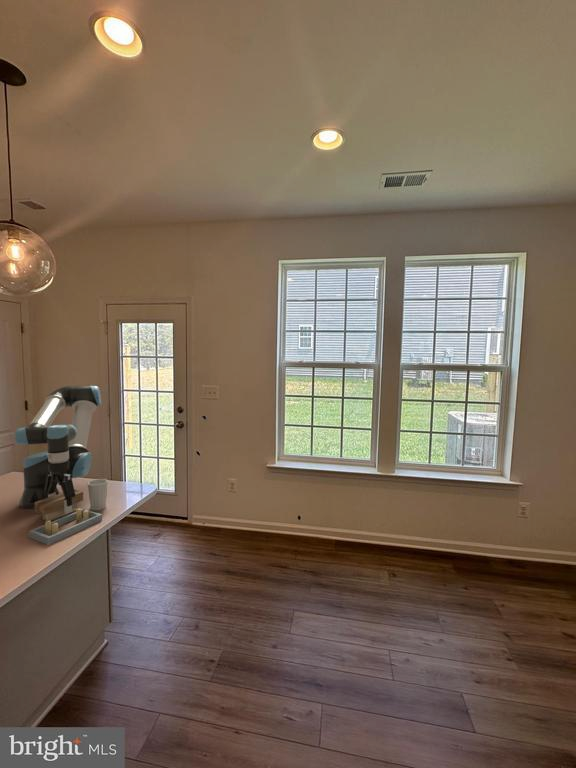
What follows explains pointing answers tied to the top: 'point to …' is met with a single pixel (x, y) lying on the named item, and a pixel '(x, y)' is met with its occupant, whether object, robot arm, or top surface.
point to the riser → (57, 513)
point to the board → (55, 502)
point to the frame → (54, 525)
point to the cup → (97, 493)
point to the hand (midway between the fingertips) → (60, 510)
